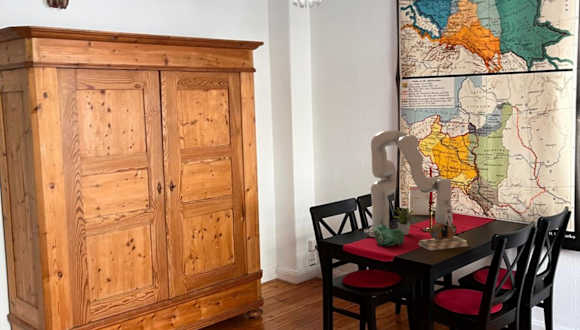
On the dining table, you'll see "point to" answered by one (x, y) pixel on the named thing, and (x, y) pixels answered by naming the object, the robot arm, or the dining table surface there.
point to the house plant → (404, 220)
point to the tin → (437, 231)
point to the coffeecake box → (418, 201)
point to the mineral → (388, 236)
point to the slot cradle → (443, 243)
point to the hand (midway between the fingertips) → (442, 235)
